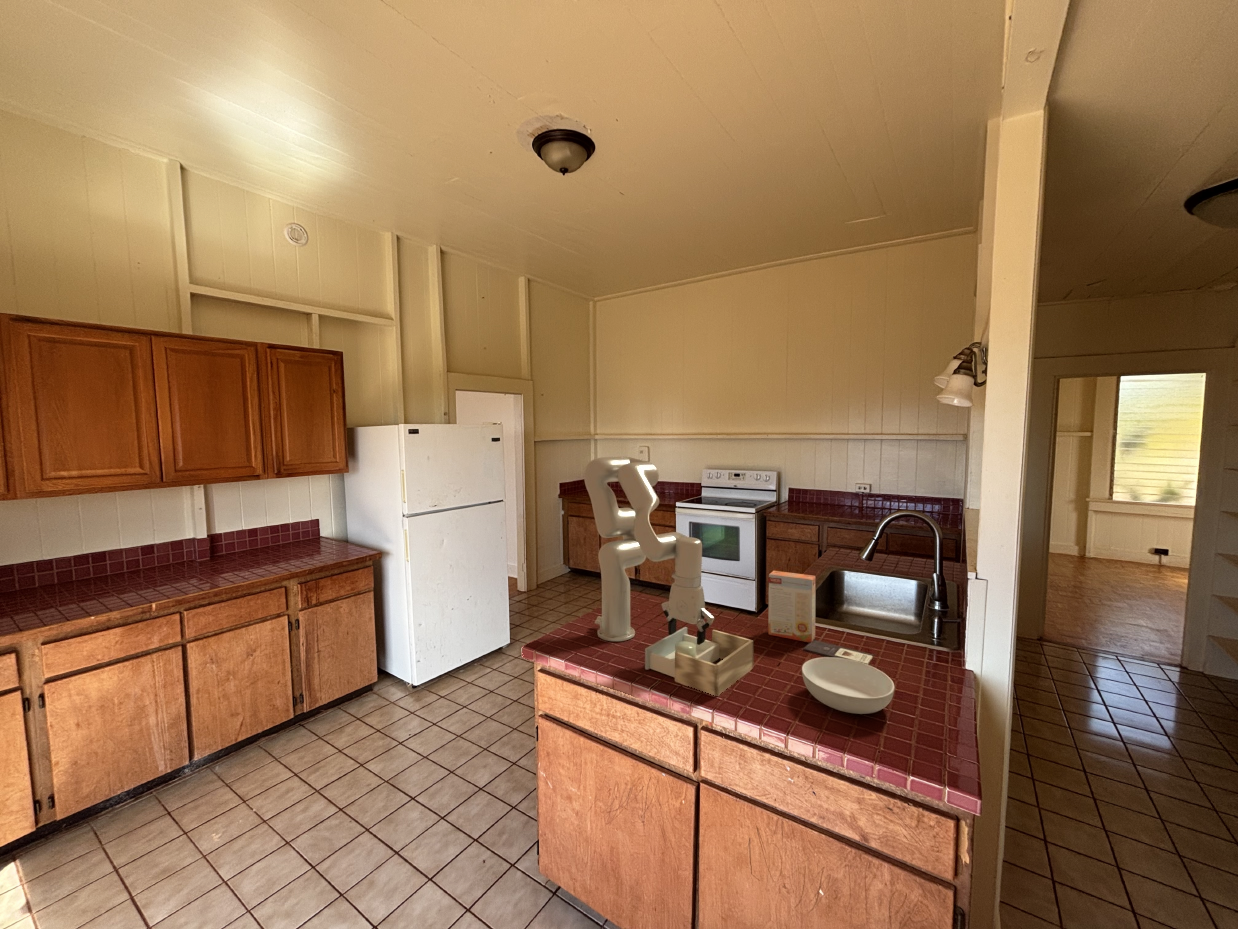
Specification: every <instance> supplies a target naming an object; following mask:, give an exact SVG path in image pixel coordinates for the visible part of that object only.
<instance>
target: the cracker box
mask: <svg viewBox="0 0 1238 929" xmlns="http://www.w3.org/2000/svg"><path fill="white" fill-rule="evenodd" d="M767 620H768V628H767V629H768V635H770V636H775V637H779V638H785V639H790V640H794V641H799V642H805V643H809V642H812V641H813V640H815V638H816V575H812V574H811V575H810V574H802V573H796V572H788V571H787V572H786V571H780V570H772V571H771V572H770V573H768V619H767Z"/></svg>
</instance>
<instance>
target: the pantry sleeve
mask: <svg viewBox="0 0 1238 929" xmlns="http://www.w3.org/2000/svg"><path fill="white" fill-rule="evenodd" d="M711 634H712V635H711V642H715V643H718V644H720V658H721V659H720V661H719V662H717V663H714V662H713V663H710V662H707V661H704V660H701V659H698V658H695V657H692V656H689V655H685V654H682V653H679V652H675V677H674V682H675V683H678V684H681V685H683V686H686V687H688V686H689V687H688V688H691V687H692V688H691V689H694V688H695V689H694V690H696V689H697V690H696V691H699V690H700V691H699V692H702V691H703V693H705V692H706V693H705V694H707V693H709V694H708V695H710V694H711V695H710V696H713V695H714V696H713V697H715V696H718V697H719V696H721V695H722V694H723V693H724V692H726V691H727V690H728V689H729V688H730V687H732V686H733V685H734V684H735V683H736V681H737V680H738V681H739V680H740V679H742V678H743V677H744V676H745V675H746V674H748V673H750V671H751V670H752V669H754V640H752V639H749V638H746V637H743V636H738V635H734V634H731V633H727V632H724V631H719V630H717V629H712V630H711ZM722 659H723V660H722ZM738 681H737V682H738ZM731 685H732V686H731ZM727 688H728V689H727ZM726 689H727V690H726ZM722 692H723V693H722ZM721 693H722V694H721ZM720 694H721V695H720Z"/></svg>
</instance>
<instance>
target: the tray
mask: <svg viewBox="0 0 1238 929" xmlns="http://www.w3.org/2000/svg"><path fill="white" fill-rule="evenodd" d="M682 641H687V642H692V643H694V644H695V645H696V657H695V658H698V659H701V660H704V661H707V662H710V663H713V664H714V663H715V662H716V661H718V660H720V659H719V658H720V644H718V643H715V642H712V640H711V641H710V640H707V639H705V641H704V642H703V643H702V644H700V645H698V644H697V636H694V635H690V634H688V627H686V626H684V627H682V628H680V629H679V630H676V633H674V634H672V635H669V634H668V636H665V637H664V638H661V639H659V640H658V641H656V642H655V643H652V644H650V645H649V646H647V647H645V648H644V665H645V666H644V669H645V670H647V671H648V670H650V669H651V670H653V671H656V672H658V673H661V674H664V675H667V676H670V677H673V678H675V644H676V643H678V642H682Z"/></svg>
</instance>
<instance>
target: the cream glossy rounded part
mask: <svg viewBox="0 0 1238 929" xmlns="http://www.w3.org/2000/svg"><path fill="white" fill-rule="evenodd" d="M675 652H679V653H682V654H685V655H689V656H692V657H696V645H695V644H694V643H692V642H687V641H682V642H678V643H676V644H675Z"/></svg>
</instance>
